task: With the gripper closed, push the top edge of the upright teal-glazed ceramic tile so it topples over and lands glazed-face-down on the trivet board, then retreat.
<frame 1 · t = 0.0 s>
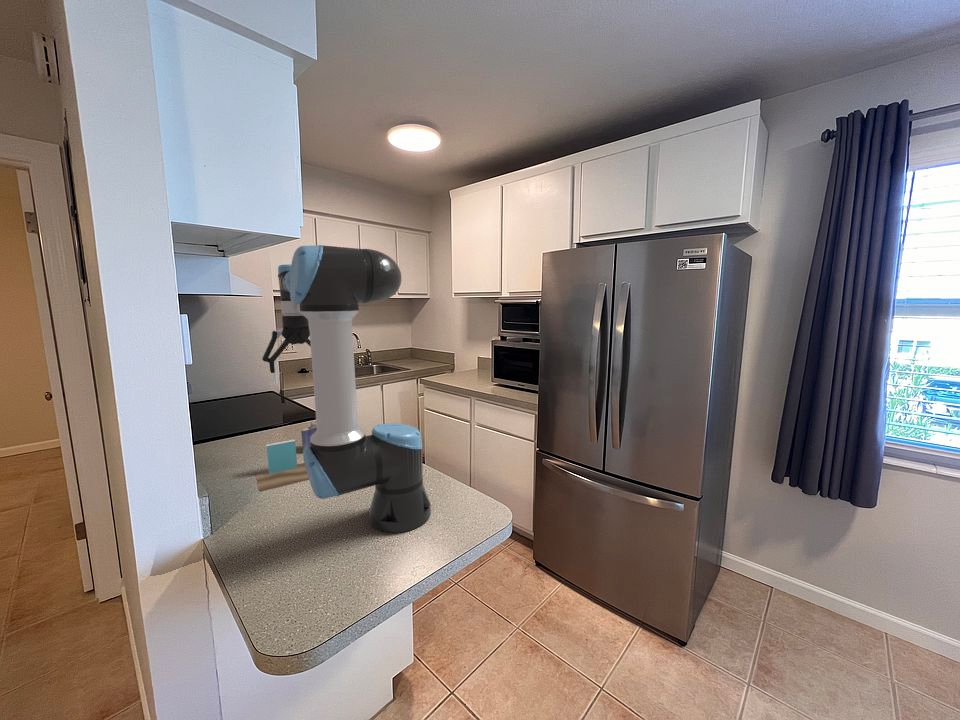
hand: (300, 380, 126), 28 cm above the countertop, fingers open, 13 cm apart
flask: (315, 450, 140), on the countertop
tile: (283, 469, 122), point 1 cm above the countertop, touching board
board: (285, 477, 118), on the countertop
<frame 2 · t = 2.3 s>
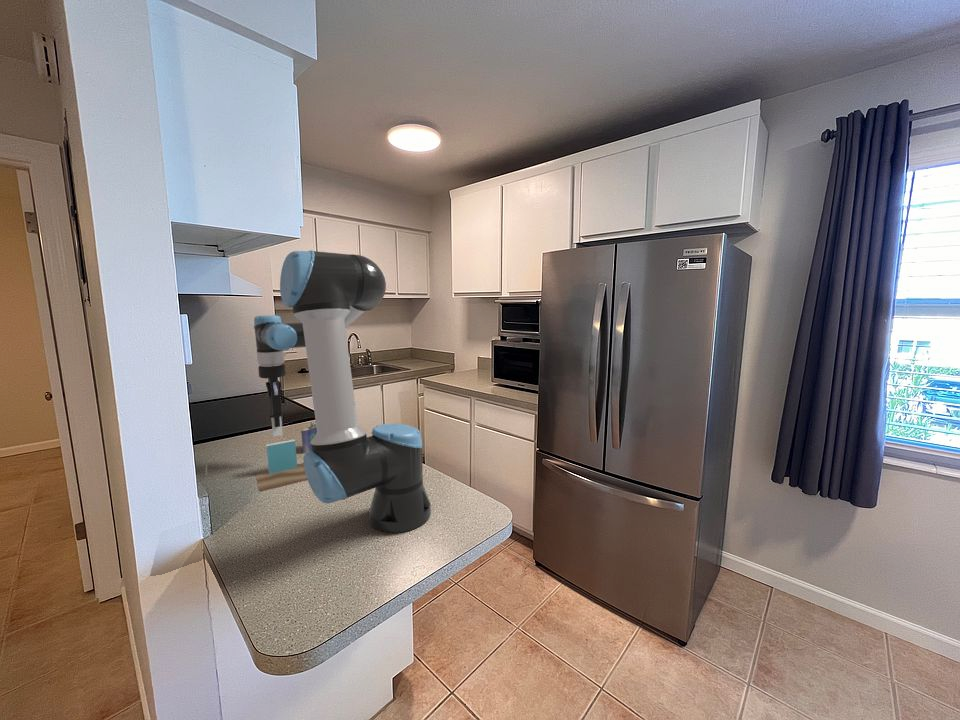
hand: (277, 435, 126), 10 cm above the countertop, fingers closed
nothing on the countertop moved.
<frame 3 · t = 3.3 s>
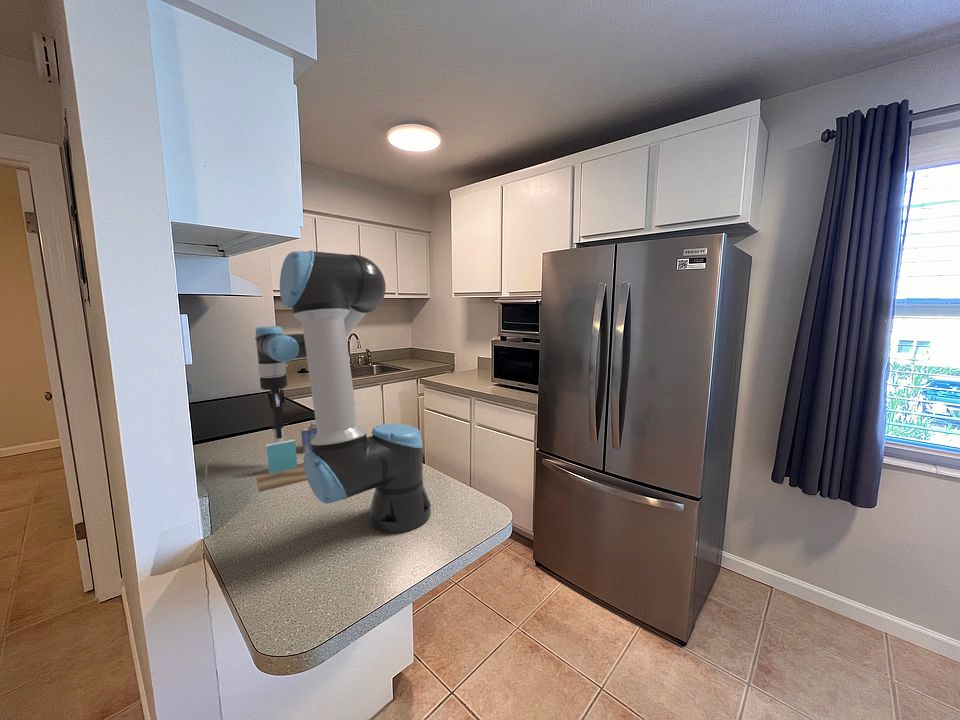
hand: (279, 446, 125), 7 cm above the countertop, fingers closed
nothing on the countertop moved.
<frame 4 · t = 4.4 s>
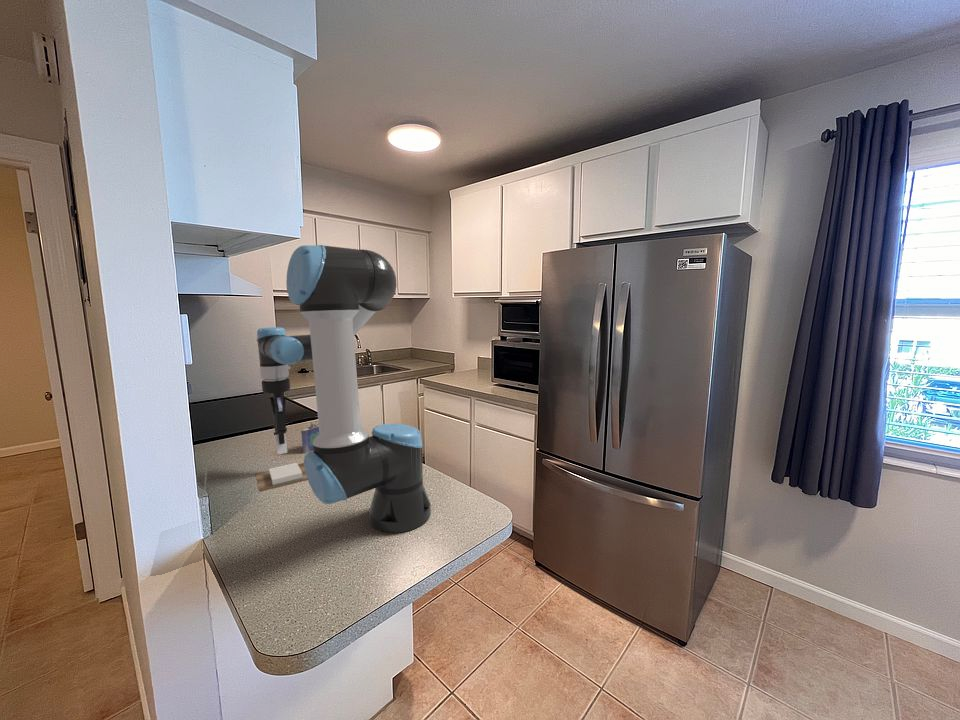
hand: (282, 452, 120), 7 cm above the countertop, fingers closed
tile: (283, 468, 121), point 1 cm above the countertop, tilted 90°, touching board
everything else where it was.
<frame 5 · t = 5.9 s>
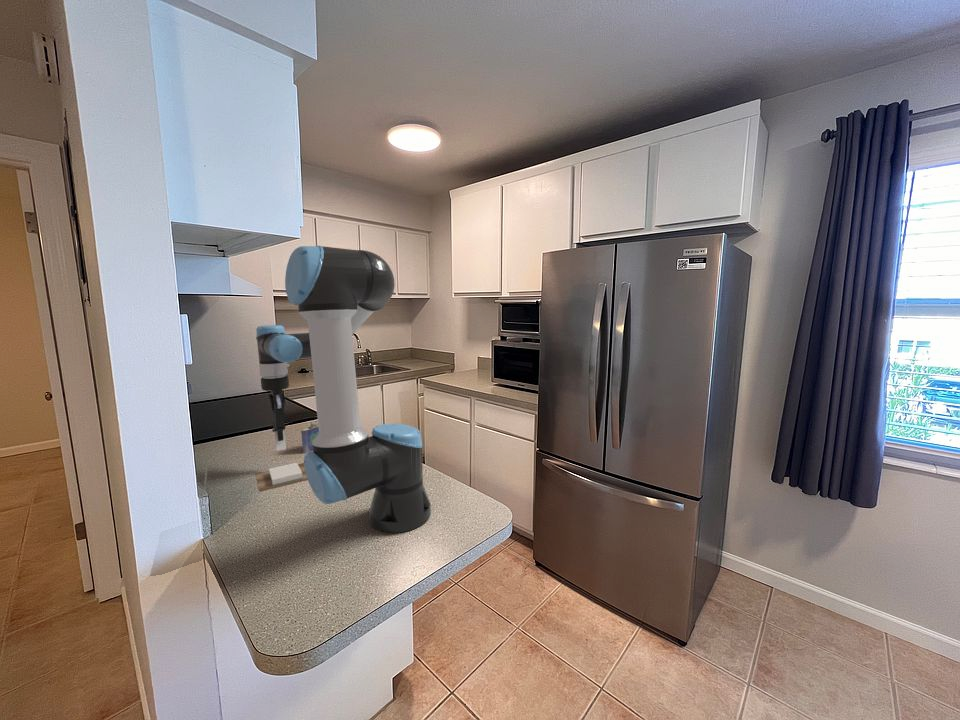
hand: (281, 449, 121), 7 cm above the countertop, fingers closed
nothing on the countertop moved.
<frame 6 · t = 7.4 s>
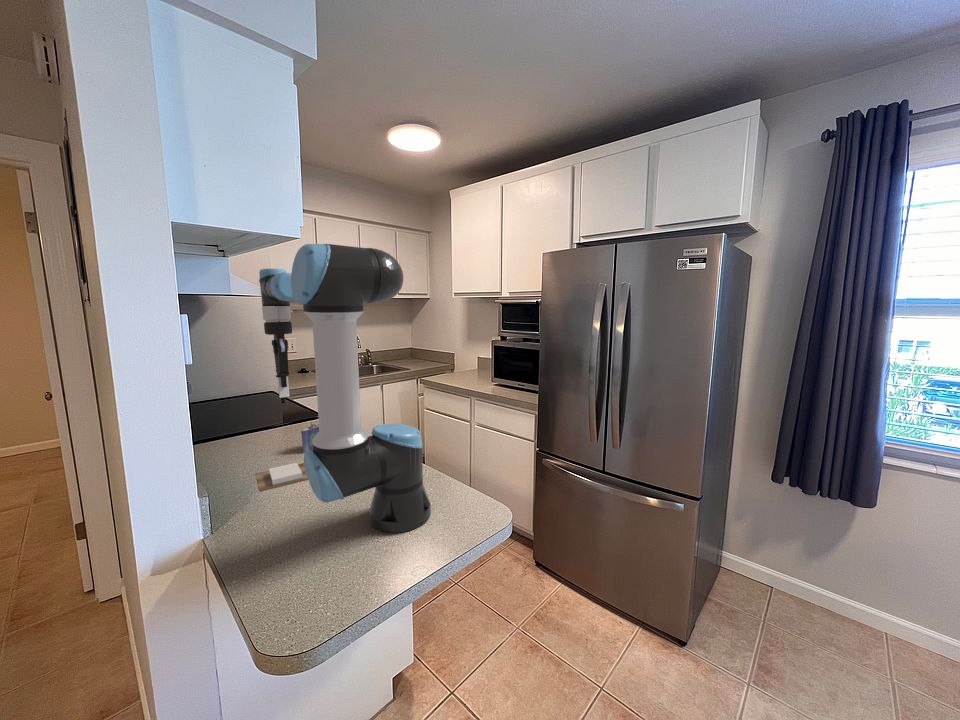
hand: (284, 396, 121), 24 cm above the countertop, fingers closed
nothing on the countertop moved.
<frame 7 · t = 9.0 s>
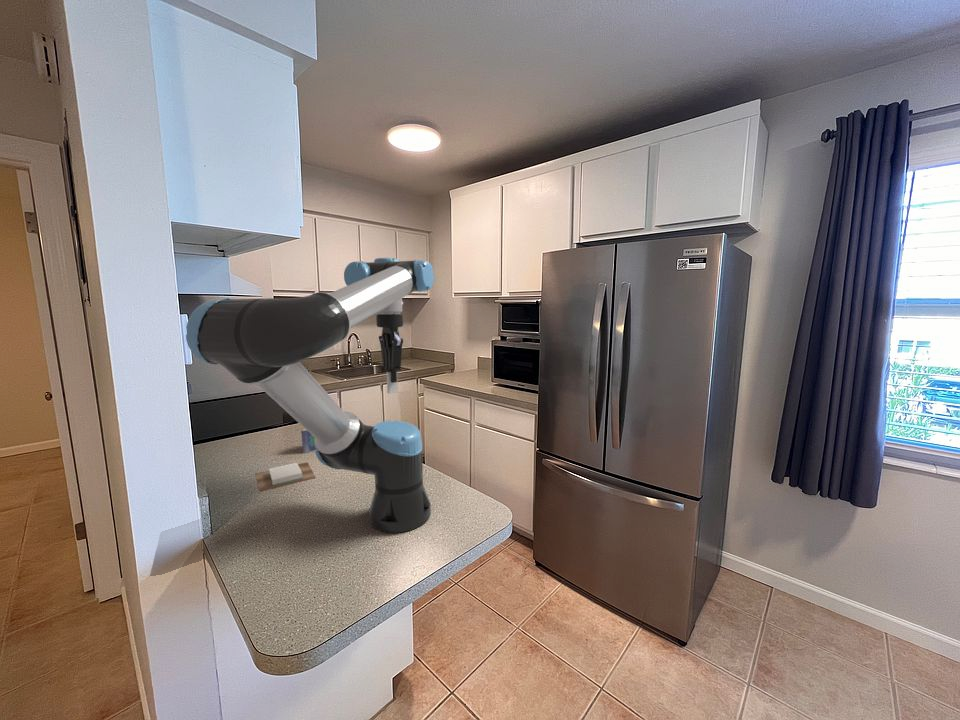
hand: (392, 392, 115), 26 cm above the countertop, fingers closed
nothing on the countertop moved.
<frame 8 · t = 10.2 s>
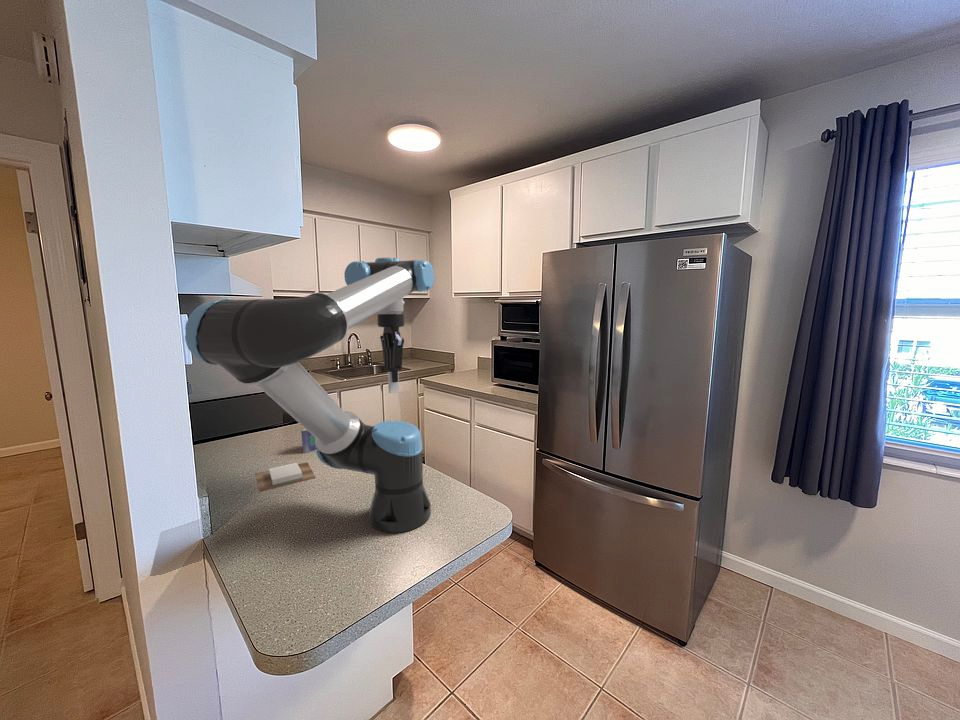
hand: (393, 392, 115), 26 cm above the countertop, fingers closed
nothing on the countertop moved.
at the end: tile tilted 90°; tile inside the target area (3.0 cm from its centre), point 1.5 cm above the countertop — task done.
